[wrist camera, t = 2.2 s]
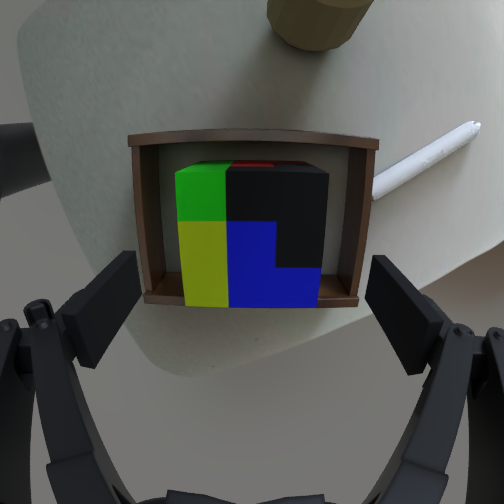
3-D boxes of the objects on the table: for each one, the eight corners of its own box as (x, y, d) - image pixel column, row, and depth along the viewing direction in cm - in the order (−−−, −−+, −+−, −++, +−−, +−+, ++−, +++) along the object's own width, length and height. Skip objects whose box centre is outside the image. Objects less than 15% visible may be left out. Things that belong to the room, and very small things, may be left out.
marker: (472, 115, 24) (484, 115, 22) (478, 131, 25) (490, 132, 23) (360, 182, 28) (368, 186, 26) (369, 199, 29) (377, 204, 27)
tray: (159, 278, 32) (144, 303, 27) (149, 134, 27) (127, 135, 22) (343, 281, 32) (357, 307, 27) (358, 137, 26) (379, 138, 21)
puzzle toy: (299, 257, 31) (316, 307, 22) (205, 256, 31) (185, 305, 22) (304, 161, 28) (328, 173, 18) (201, 161, 28) (174, 172, 18)
